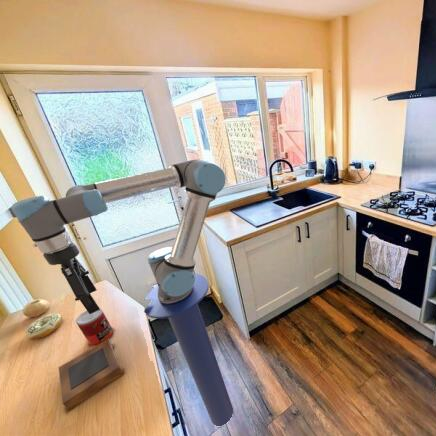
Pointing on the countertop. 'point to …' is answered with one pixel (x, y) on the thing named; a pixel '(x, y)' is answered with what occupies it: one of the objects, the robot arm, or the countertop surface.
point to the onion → (35, 308)
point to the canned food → (94, 327)
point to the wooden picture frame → (88, 374)
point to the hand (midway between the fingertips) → (93, 301)
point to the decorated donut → (44, 326)
